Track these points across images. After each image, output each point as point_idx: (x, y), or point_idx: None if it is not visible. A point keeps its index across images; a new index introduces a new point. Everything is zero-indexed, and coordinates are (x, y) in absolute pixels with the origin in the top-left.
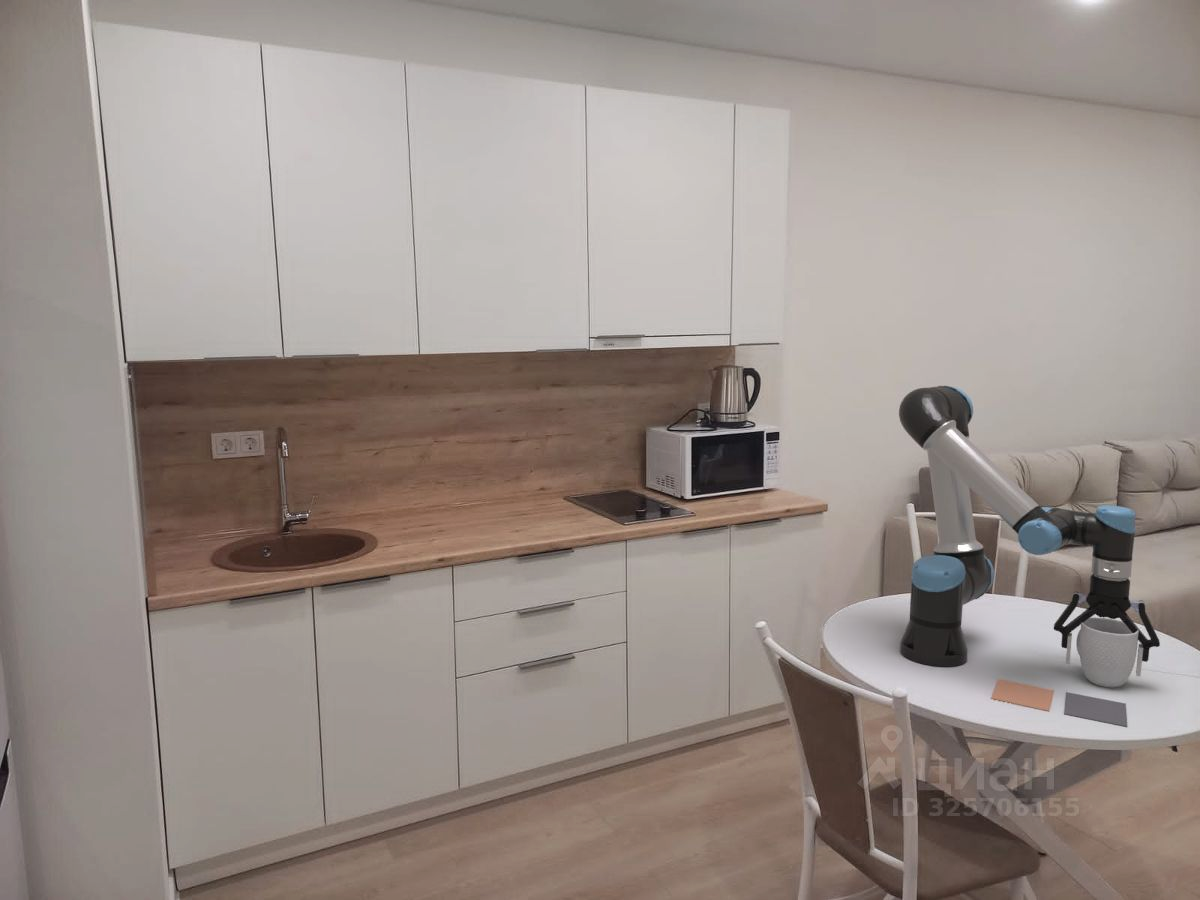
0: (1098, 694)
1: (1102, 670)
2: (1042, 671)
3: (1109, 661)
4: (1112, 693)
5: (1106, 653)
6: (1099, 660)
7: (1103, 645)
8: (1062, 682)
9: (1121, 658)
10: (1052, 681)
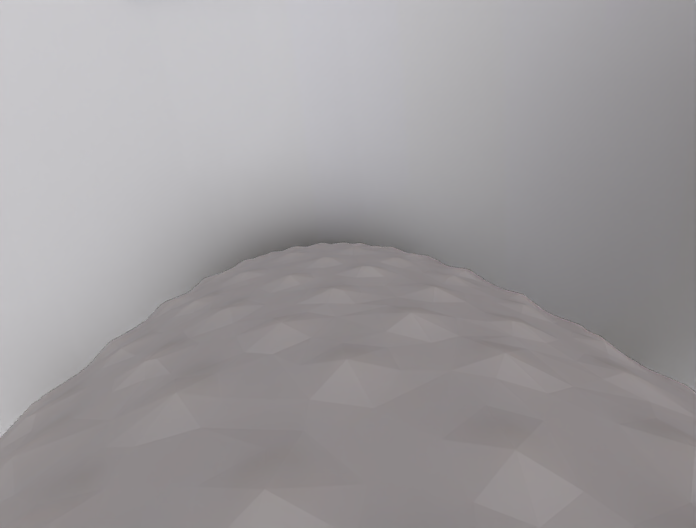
0: (333, 94)
1: (346, 243)
2: (659, 291)
3: (275, 271)
4: (254, 181)
5: (336, 307)
6: (412, 259)
7: (526, 457)
8: (558, 177)
9: (71, 380)
10: (616, 153)
